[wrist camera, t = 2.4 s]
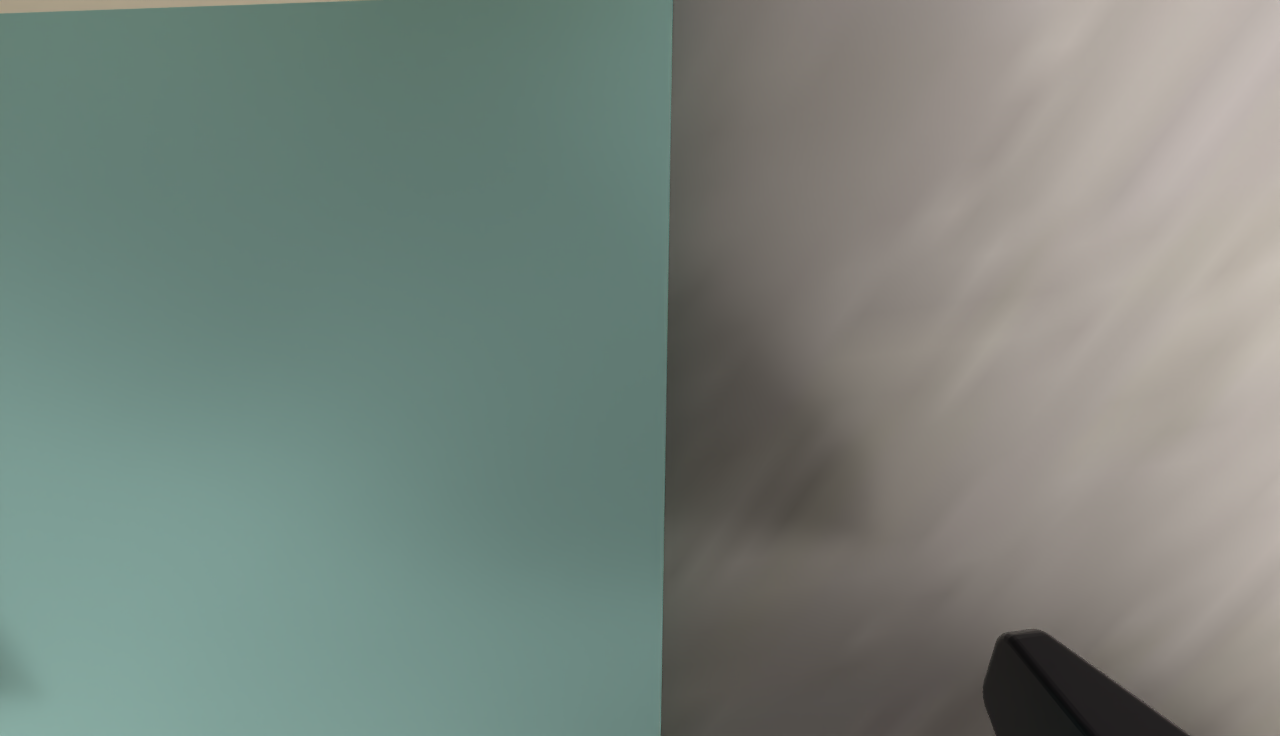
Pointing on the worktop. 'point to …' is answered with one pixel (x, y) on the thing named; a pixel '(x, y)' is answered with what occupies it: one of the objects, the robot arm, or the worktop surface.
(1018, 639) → the robot arm
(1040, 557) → the worktop surface
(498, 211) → the lane
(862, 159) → the worktop surface
